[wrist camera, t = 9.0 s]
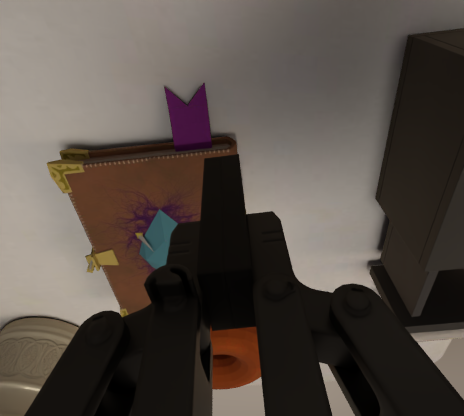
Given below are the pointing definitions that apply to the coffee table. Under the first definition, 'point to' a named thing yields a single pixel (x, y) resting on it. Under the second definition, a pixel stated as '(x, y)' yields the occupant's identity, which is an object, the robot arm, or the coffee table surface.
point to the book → (140, 196)
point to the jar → (29, 359)
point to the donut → (235, 357)
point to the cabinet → (428, 152)
